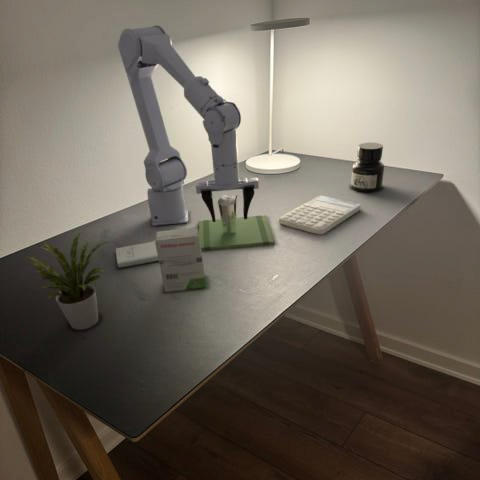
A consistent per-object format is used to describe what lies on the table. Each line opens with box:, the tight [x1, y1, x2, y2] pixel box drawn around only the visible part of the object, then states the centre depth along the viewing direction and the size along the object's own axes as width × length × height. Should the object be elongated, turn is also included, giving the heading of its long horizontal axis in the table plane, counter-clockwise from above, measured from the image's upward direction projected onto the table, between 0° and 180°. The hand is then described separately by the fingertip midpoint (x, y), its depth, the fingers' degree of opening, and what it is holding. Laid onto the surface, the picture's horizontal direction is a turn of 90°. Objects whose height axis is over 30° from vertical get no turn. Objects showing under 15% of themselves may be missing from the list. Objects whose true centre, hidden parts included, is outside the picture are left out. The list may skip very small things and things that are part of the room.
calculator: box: [278, 194, 362, 236], centre depth 117 cm, size 13×20×2 cm, turn 139°
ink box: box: [154, 226, 207, 293], centre depth 90 cm, size 9×5×12 cm, turn 96°
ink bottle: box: [350, 142, 385, 193], centre depth 129 cm, size 10×9×12 cm
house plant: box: [25, 232, 111, 330], centre depth 81 cm, size 14×14×16 cm
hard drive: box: [115, 240, 159, 269], centre depth 105 cm, size 2×8×12 cm
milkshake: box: [217, 195, 239, 235], centre depth 108 cm, size 4×5×10 cm
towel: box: [198, 214, 276, 252], centre depth 112 cm, size 18×16×1 cm
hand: (229, 219), depth 109 cm, fingers open, 7 cm apart
